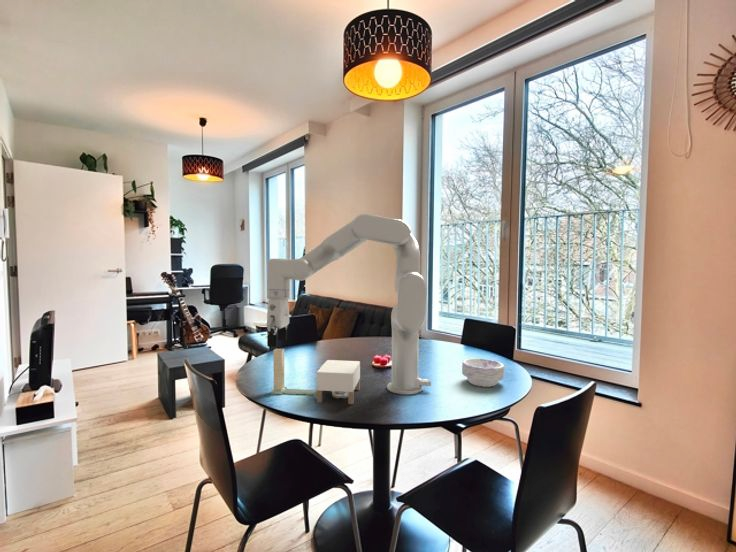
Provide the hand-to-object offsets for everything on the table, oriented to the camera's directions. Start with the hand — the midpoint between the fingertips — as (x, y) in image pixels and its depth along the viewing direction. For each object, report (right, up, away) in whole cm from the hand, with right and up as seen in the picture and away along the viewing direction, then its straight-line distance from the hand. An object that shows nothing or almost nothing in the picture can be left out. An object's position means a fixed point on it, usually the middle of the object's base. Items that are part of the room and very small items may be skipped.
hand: (277, 343), depth 134 cm
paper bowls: (+75, -17, +12) cm, 78 cm away
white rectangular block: (+22, -17, -2) cm, 28 cm away
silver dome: (+22, -18, -2) cm, 28 cm away
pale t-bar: (+7, -17, 0) cm, 19 cm away
